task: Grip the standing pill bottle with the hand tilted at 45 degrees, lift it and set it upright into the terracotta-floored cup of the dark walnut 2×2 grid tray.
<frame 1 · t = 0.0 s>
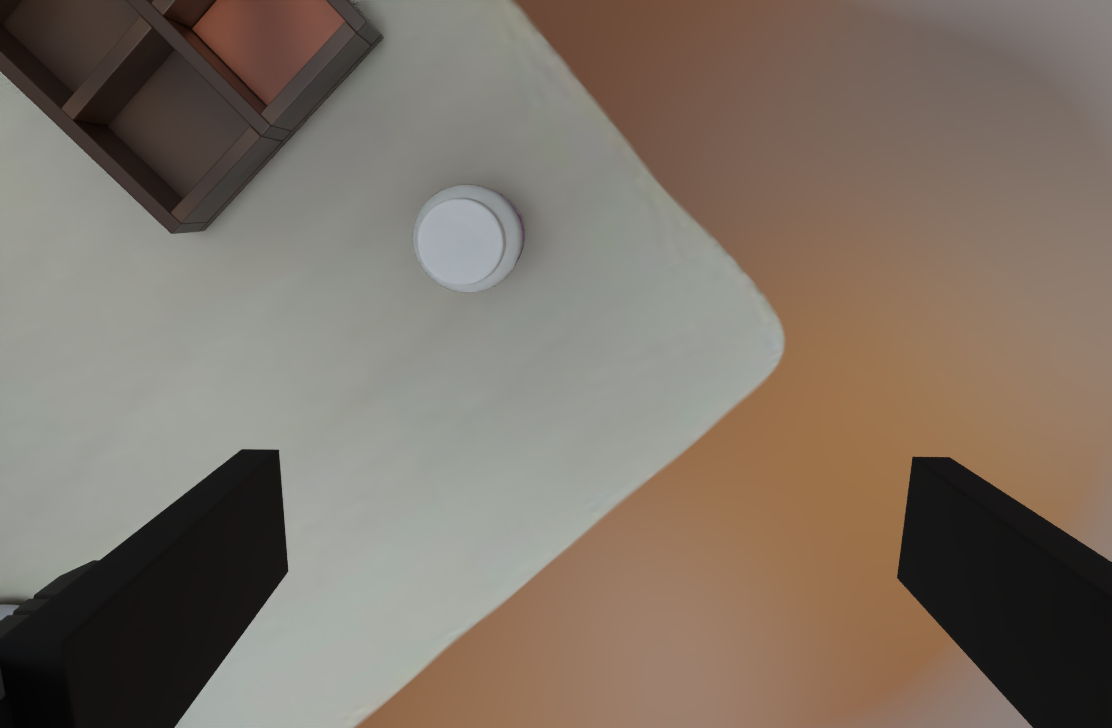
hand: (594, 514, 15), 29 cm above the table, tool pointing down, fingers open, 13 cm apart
grid: (187, 31, 40), on the table
pill bottle: (480, 234, 42), on the table
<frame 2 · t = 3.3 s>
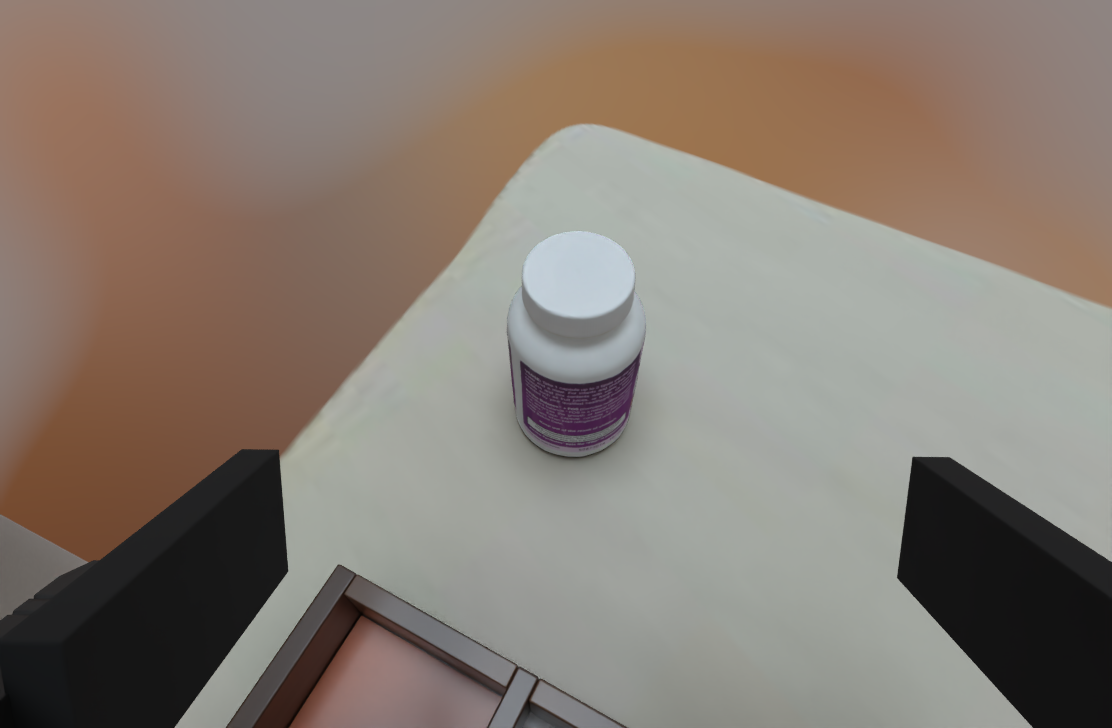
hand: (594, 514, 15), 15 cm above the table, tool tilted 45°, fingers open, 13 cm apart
pill bottle: (572, 409, 33), on the table
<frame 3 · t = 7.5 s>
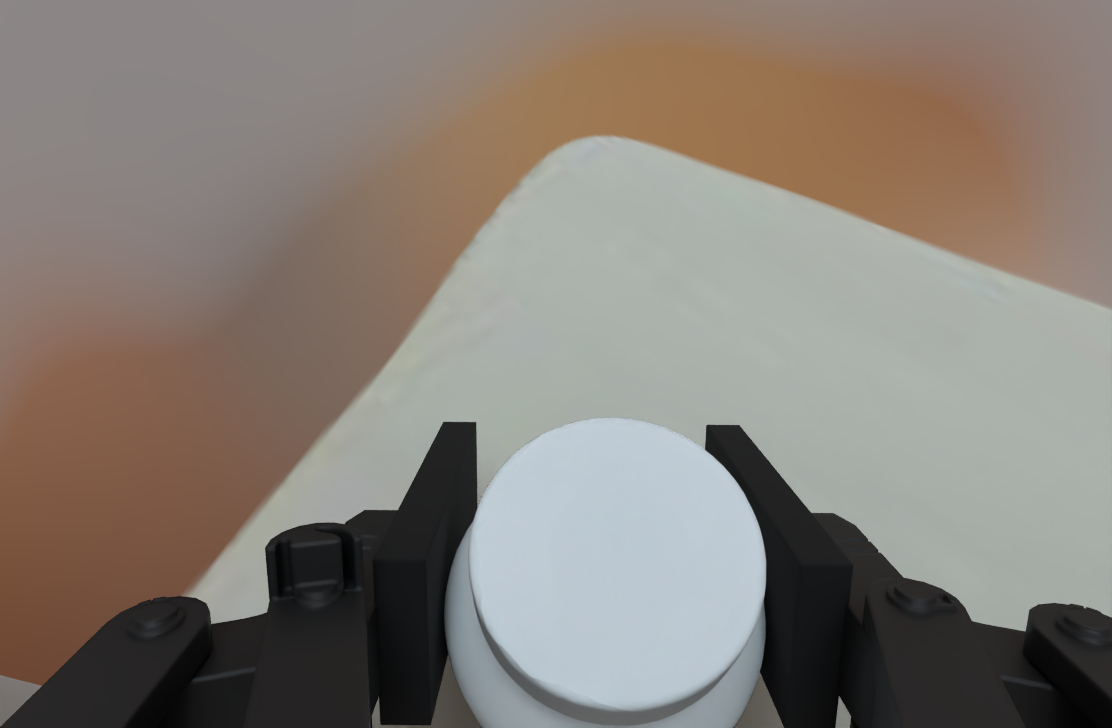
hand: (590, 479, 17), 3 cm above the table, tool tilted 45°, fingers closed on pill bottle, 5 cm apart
pill bottle: (586, 674, 18), on the table, touching gripper
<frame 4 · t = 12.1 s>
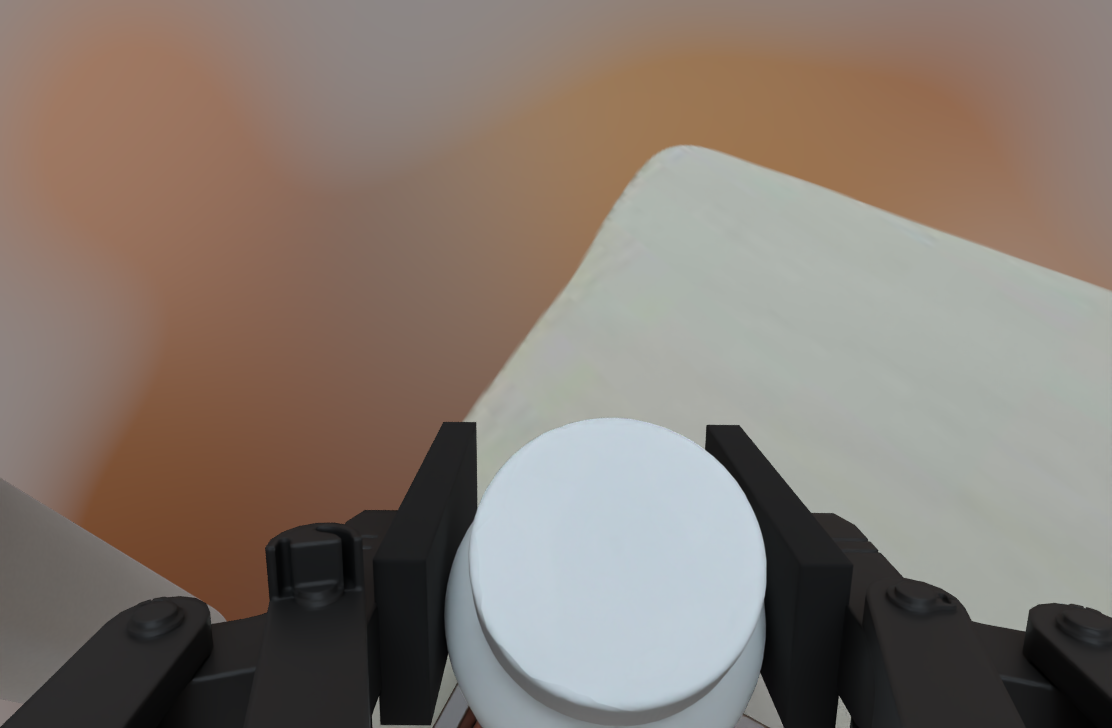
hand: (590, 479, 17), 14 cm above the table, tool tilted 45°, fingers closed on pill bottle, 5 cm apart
pill bottle: (586, 674, 18), point 11 cm above the table, touching gripper
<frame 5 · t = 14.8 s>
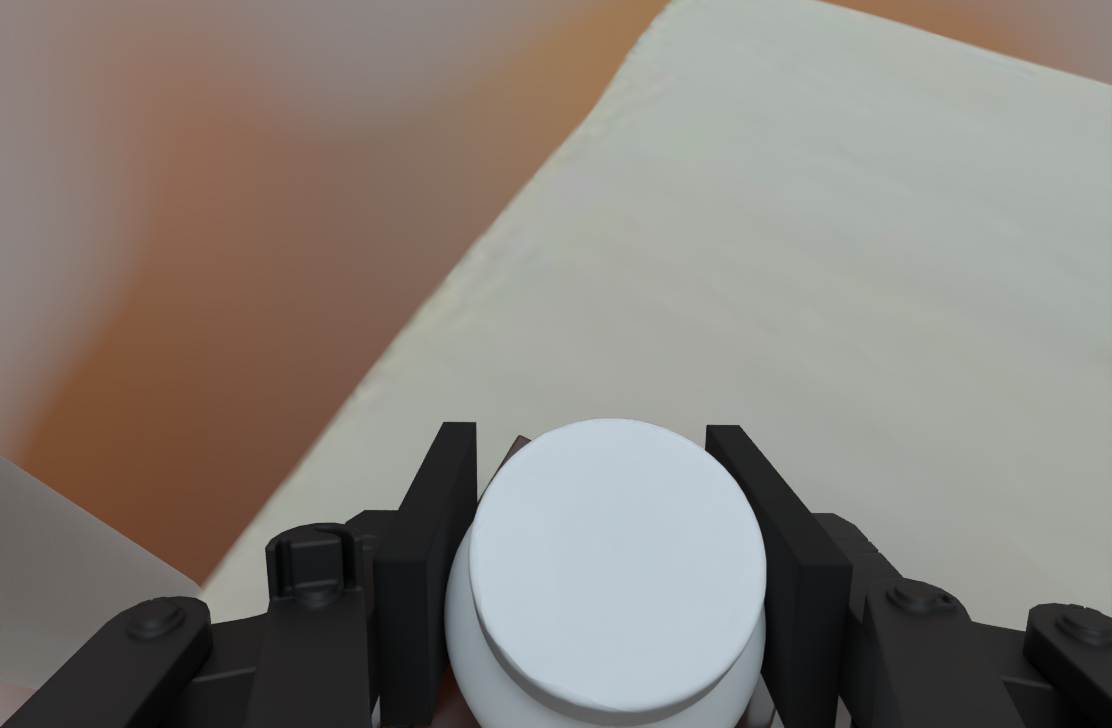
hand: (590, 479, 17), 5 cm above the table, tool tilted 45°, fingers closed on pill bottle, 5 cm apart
pill bottle: (586, 674, 18), point 1 cm above the table, touching gripper
when the fingers open (5 cm above the table, at t = 17.0 s): pill bottle stays where it is, resting on grid.
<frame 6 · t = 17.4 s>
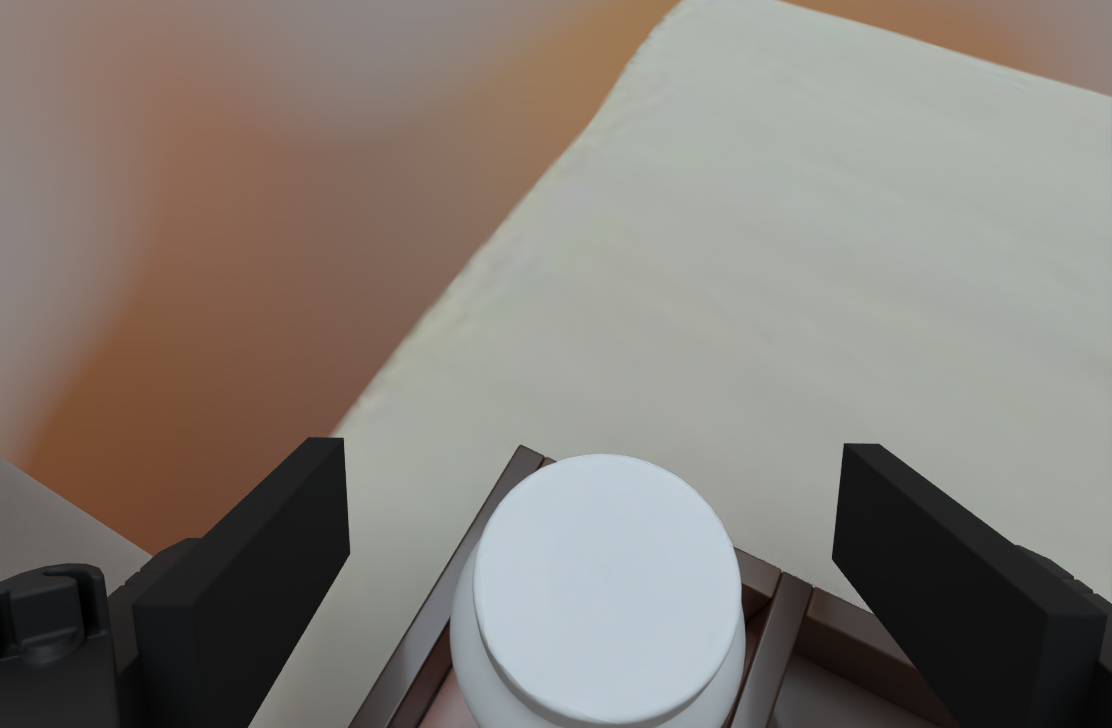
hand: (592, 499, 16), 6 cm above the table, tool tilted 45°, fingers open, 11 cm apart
pill bottle: (582, 682, 19), point 1 cm above the table, touching grid
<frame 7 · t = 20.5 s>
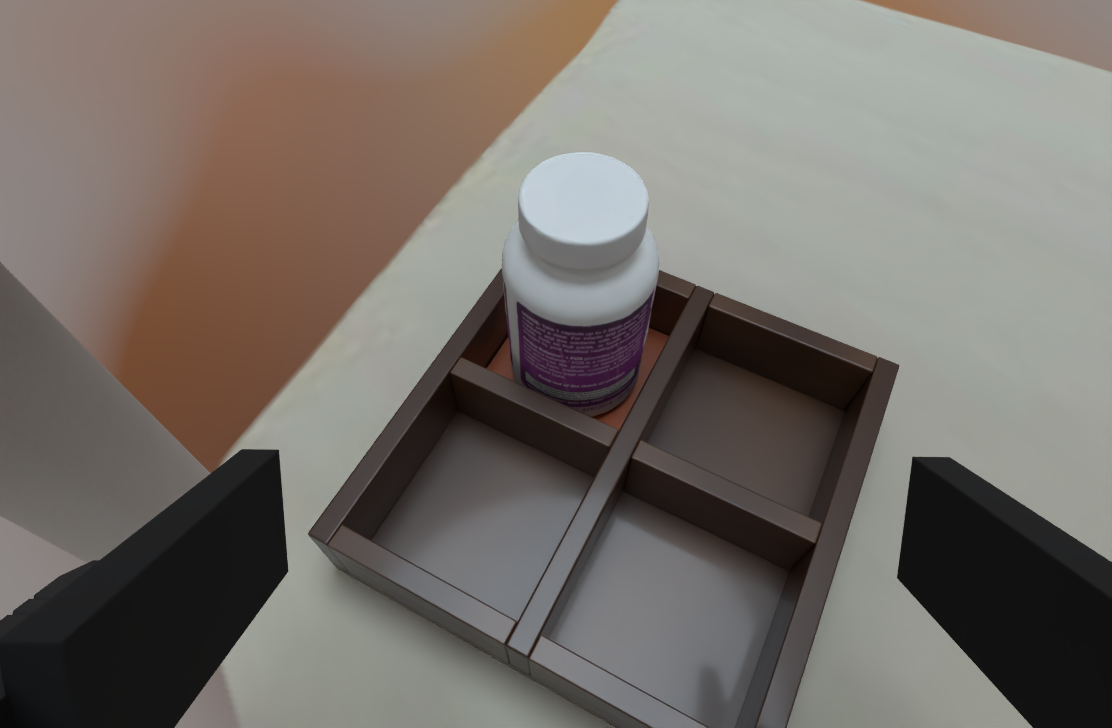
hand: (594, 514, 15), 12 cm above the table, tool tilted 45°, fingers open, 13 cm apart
grid: (616, 483, 28), on the table
pill bottle: (575, 368, 30), point 1 cm above the table, touching grid
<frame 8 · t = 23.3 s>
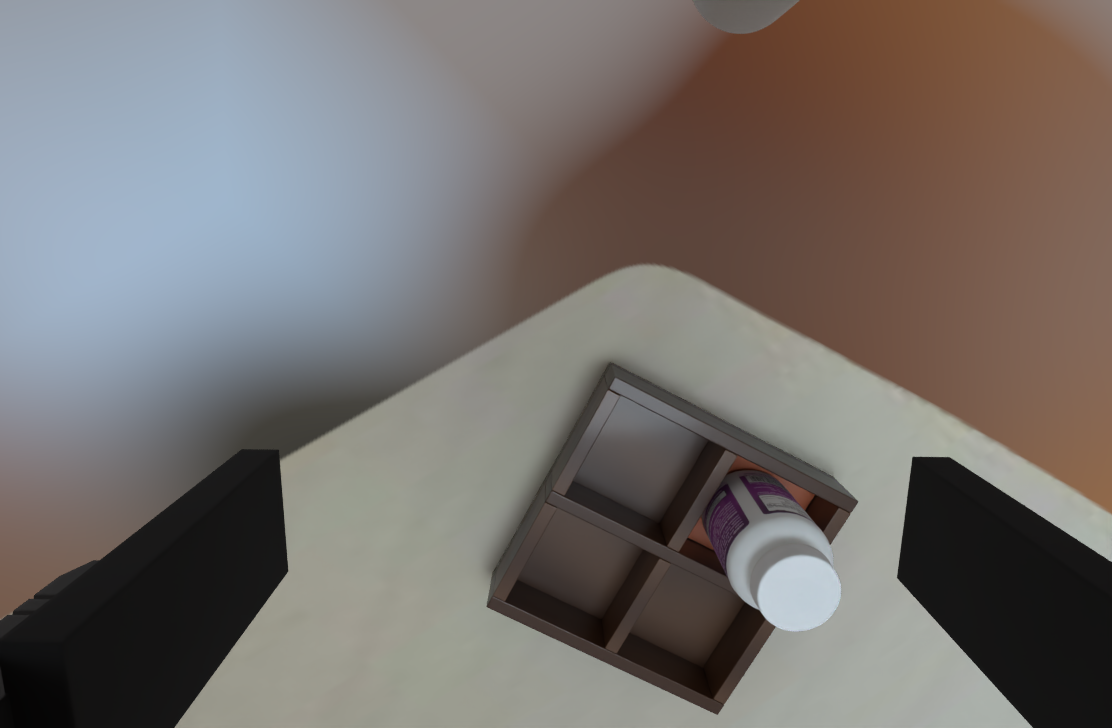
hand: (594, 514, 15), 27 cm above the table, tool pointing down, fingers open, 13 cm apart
grid: (660, 527, 44), on the table
pill bottle: (744, 507, 43), point 1 cm above the table, touching grid
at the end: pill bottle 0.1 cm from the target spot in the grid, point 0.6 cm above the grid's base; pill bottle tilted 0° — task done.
